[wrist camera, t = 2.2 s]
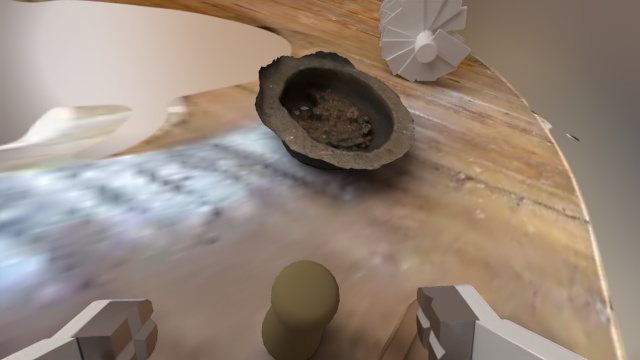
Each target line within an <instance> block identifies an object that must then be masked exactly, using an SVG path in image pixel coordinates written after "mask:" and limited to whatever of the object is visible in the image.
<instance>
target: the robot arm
mask: <svg viewBox="0 0 640 360" xmlns="http://www.w3.org/2000/svg"><path fill="white" fill-rule="evenodd" d="M417 301H418V303H419V305H420V307H421V308H420V309H419V310H418V311H417V313H416V324H417V331H418V335H419V339H420V342H421V344H422V346H423V348H425V349H426V350H427V351H429V353H428V360H587V359H585V358H583V357H581V356H579V355H577V354H575V353H573V352H571V351H569V350H567V349H565V348H563V347H561V346H559V345H557V344H555V343H553V342H551V341H549V340H547V339H545V338H543V337H541V336H539V335H537V334H535V333H533V332H531V331H529V330H527V329H525V328H523V327H521V326H519V325H517V324H515V323H513V322H511V321H509V320H501V319H500V318H499V317H498V315H497V314H496V313H495V312H494V311H493V310H492V308H491V307H490V306H489V305H488V304H487V303H486V301H485V300H484V299H483V298H482V297H481V296H480V295H479V293H478V292H477V291H476V290H475V289H474V288H473V286H471V285H469V284H461V285H452V286H437V287H420V288H418V291H417ZM152 313H153V307H152V303H151V301H150V300H148V299H116V300H98V301H94V302H93V303H91V304H90V305H89V306H88V307H87V308H86V309H84V310H83V311H82V312H81V313H80V314H79V315H77V316H76V317H75V318H74V319H73V320H72V321H70V322H69V323H68V324H67V325H66V326H65V327H63V328H62V329H61V330H60V331H59V332H58V333H57V334H55V335H54V336H53V337H52V338H51V339H44V340H42V341H40V342H38V343H35V344H33V345H31V346H29V347H27V348H25V349H23V350H21V351H19V352H17V353H14V354H12V355H10V356H8V357H6V358H4V359H2V360H147V359H148V358H149V357H150V355H151V354H152V352H153V351H154V348H155V345H156V342H157V334H158V330H157V325H156V323H155V322H154V321H153V320H152V319H151V318H150V316H151V315H152Z"/></svg>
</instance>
